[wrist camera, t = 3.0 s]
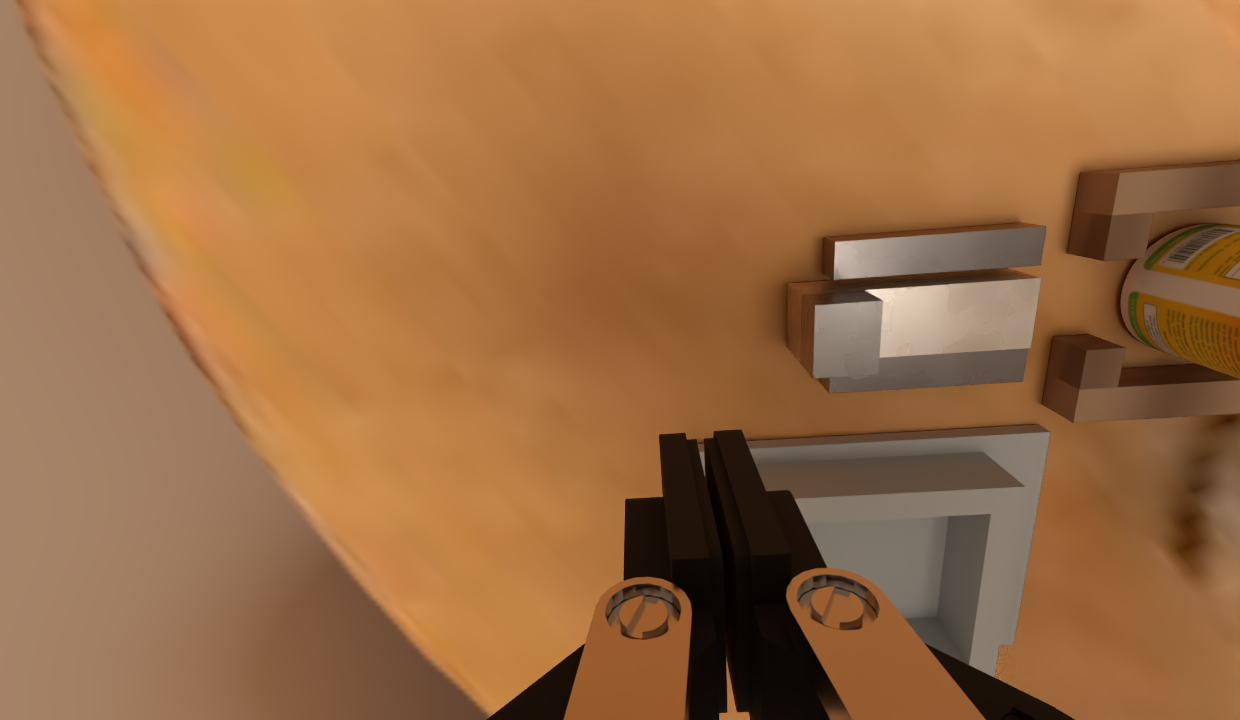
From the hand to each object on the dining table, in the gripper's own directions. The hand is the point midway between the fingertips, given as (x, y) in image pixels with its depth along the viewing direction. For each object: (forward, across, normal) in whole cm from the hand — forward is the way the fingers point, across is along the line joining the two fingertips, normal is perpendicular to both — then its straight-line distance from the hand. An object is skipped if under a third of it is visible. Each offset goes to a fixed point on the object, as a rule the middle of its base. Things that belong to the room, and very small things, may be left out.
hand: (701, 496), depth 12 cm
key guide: (+14, -11, 0) cm, 18 cm away
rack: (+14, -9, +12) cm, 21 cm away
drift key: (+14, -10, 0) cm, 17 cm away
